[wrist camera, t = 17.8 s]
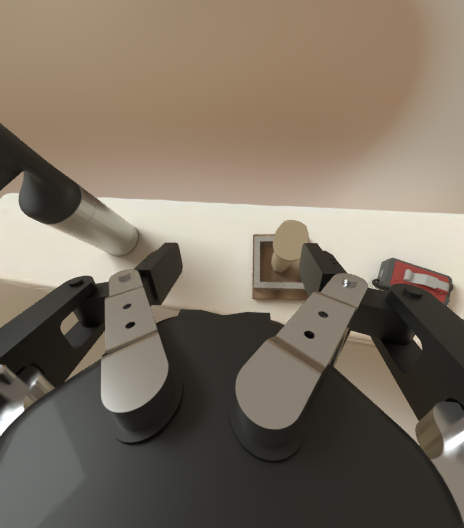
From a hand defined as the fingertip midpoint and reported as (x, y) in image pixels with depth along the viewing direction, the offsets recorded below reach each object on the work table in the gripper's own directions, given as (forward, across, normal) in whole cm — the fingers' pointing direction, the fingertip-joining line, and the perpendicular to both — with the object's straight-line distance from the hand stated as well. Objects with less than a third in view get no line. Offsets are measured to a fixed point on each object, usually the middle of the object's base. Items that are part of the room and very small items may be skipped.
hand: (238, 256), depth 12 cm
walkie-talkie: (+24, -36, +21) cm, 48 cm away
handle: (+26, -7, +16) cm, 32 cm away
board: (+28, -7, +17) cm, 33 cm away
